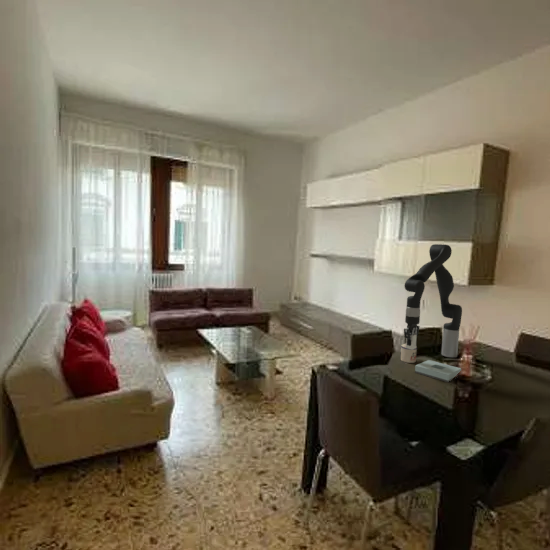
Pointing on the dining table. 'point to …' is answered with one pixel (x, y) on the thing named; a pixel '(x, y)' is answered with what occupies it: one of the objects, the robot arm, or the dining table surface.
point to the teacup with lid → (408, 354)
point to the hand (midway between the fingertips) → (410, 344)
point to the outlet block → (437, 370)
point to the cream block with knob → (412, 342)
